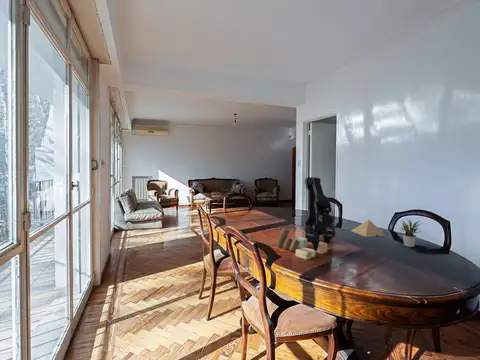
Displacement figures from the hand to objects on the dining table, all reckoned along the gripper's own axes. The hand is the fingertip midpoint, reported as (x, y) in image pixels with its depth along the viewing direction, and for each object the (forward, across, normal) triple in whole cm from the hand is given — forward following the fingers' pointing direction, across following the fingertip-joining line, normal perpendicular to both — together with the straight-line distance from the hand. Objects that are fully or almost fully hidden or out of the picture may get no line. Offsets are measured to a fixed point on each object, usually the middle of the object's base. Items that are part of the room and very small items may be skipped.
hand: (320, 249), depth 156 cm
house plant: (+1, -54, +25) cm, 60 cm away
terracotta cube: (+1, 0, 0) cm, 1 cm away
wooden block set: (+2, +10, -17) cm, 19 cm away
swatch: (+1, +4, -6) cm, 7 cm away
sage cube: (+1, +2, -12) cm, 12 cm away
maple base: (+1, +13, 0) cm, 13 cm away
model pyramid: (+2, -62, -6) cm, 62 cm away
